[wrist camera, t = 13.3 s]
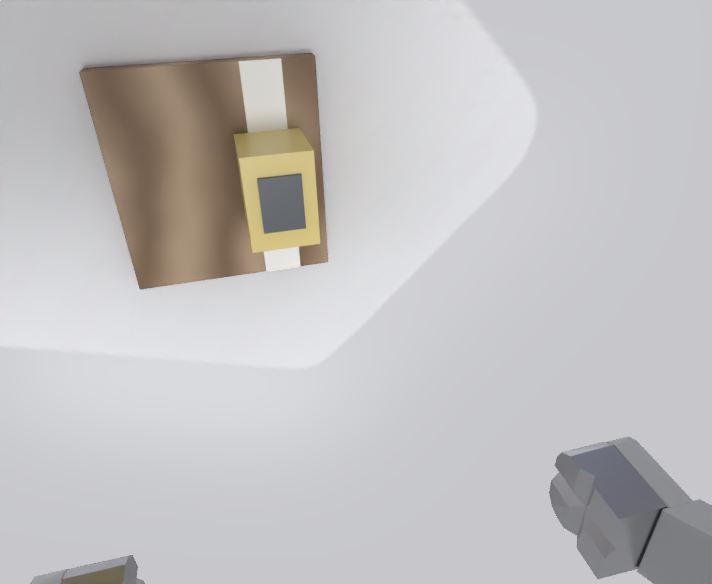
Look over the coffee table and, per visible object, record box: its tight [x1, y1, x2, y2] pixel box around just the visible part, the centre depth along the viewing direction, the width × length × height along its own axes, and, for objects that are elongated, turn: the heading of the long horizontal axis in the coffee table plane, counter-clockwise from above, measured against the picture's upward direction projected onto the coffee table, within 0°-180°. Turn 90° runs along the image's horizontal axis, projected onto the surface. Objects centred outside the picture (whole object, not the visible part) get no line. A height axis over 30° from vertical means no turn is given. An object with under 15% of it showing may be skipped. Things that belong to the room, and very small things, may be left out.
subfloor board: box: [79, 53, 328, 289], centre depth 43 cm, size 16×17×2 cm
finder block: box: [233, 128, 320, 253], centre depth 40 cm, size 5×7×6 cm
